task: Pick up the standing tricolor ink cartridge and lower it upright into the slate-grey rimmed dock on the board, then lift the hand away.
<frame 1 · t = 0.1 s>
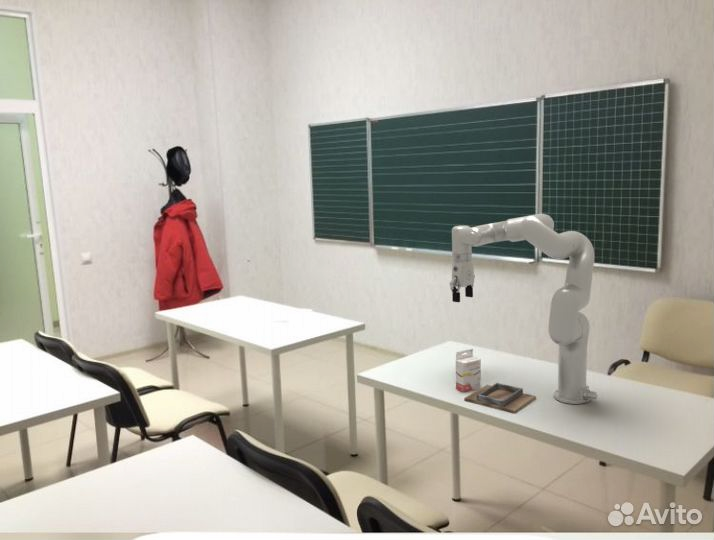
hand: (462, 299, 244), 31 cm above the table, tool pointing down, fingers open, 9 cm apart
ink cartridge box: (468, 389, 234), on the table
dock: (500, 399, 222), on the table
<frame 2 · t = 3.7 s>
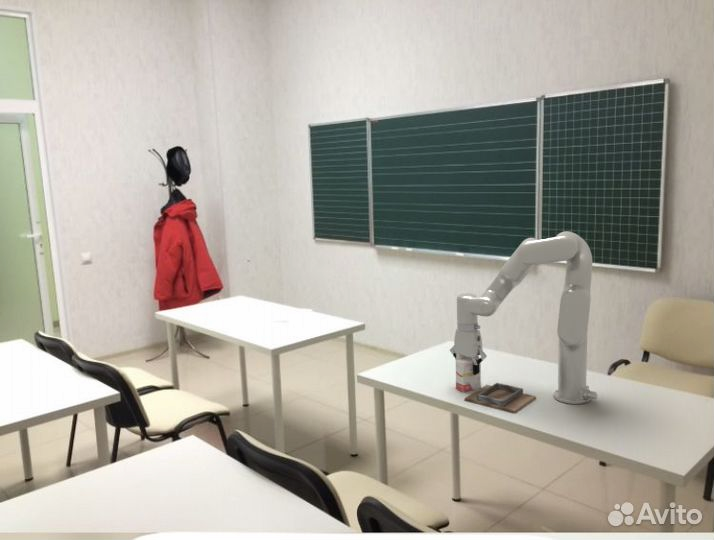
hand: (468, 371, 233), 7 cm above the table, tool pointing down, fingers closed on ink cartridge box, 6 cm apart
ink cartridge box: (468, 388, 234), on the table, touching gripper
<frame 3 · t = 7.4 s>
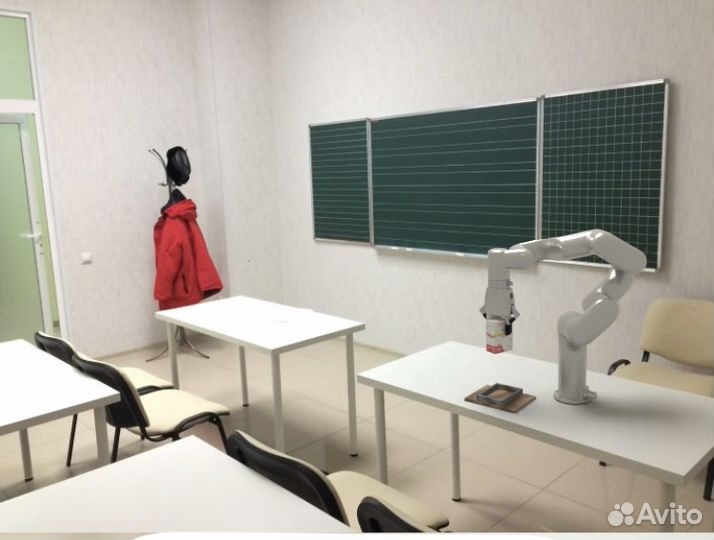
hand: (499, 332, 217), 25 cm above the table, tool pointing down, fingers closed on ink cartridge box, 6 cm apart
ink cartridge box: (499, 351, 218), point 18 cm above the table, touching gripper
when the fingers open (9 cm above the table, at t = 11.2 s): ink cartridge box drops 1 cm, resting on dock.
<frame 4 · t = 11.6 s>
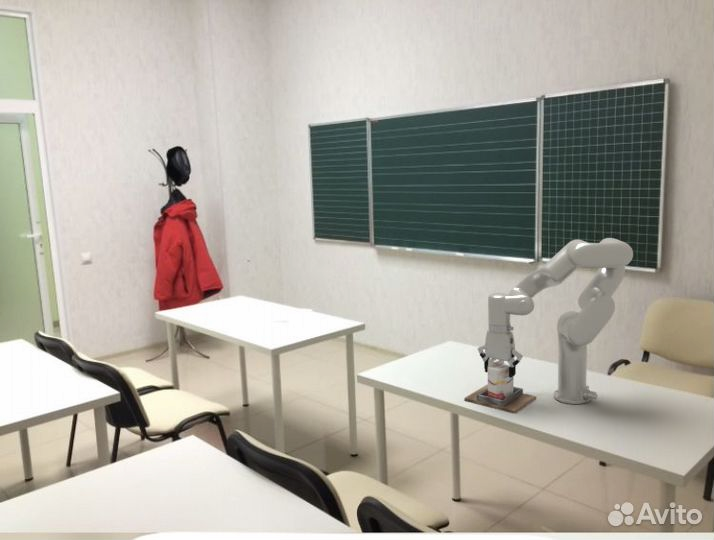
hand: (499, 373, 220), 10 cm above the table, tool pointing down, fingers open, 9 cm apart
ink cartridge box: (500, 397, 221), point 1 cm above the table, touching dock
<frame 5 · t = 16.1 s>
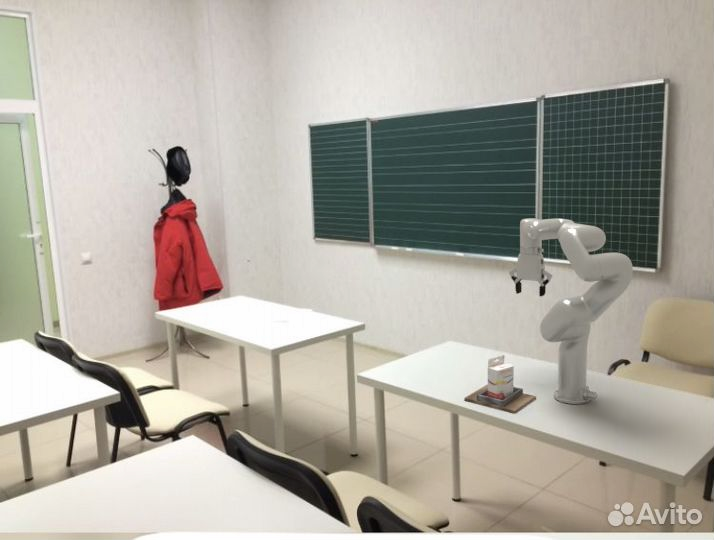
hand: (530, 294, 237), 33 cm above the table, tool pointing down, fingers open, 9 cm apart
nothing on the table moved.
at the end: ink cartridge box 0.3 cm off-centre on the dock, point 0.8 cm above the dock's base; ink cartridge box tilted 0°; the gripper is holding nothing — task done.
